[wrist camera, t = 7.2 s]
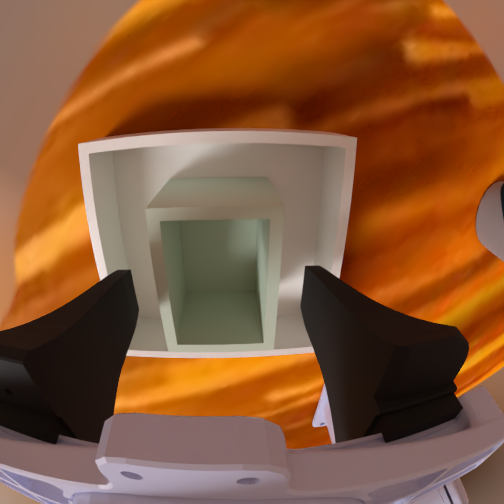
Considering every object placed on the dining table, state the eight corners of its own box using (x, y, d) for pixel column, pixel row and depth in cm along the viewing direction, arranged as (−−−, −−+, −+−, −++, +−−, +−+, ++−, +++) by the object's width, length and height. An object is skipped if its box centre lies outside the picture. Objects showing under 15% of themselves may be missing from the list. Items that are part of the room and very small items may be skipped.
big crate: (330, 131, 15) (357, 137, 12) (310, 316, 20) (324, 351, 17) (106, 136, 14) (78, 143, 11) (135, 319, 19) (123, 355, 16)
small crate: (169, 178, 15) (145, 208, 10) (266, 177, 15) (284, 205, 11) (180, 293, 18) (168, 351, 13) (262, 292, 18) (273, 350, 14)
